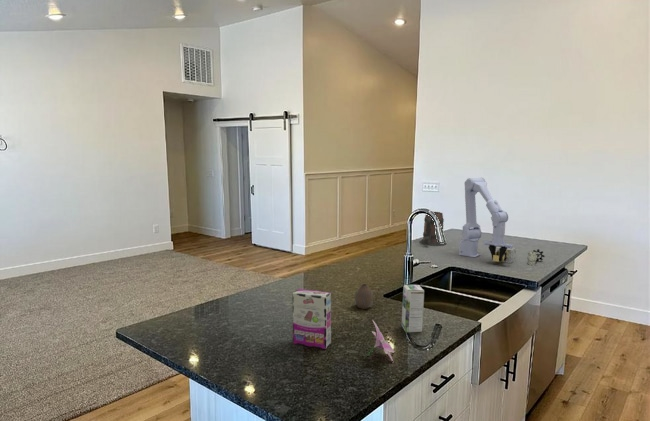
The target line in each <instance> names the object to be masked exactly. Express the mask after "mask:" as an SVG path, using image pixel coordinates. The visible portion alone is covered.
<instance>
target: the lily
mask: <svg viewBox="0 0 650 421" xmlns="http://www.w3.org/2000/svg"><path fill="white" fill-rule="evenodd" d="M372 322H373V324H374V326H375V330H376V332H375V331H374V330H373V331H371V333H372V334H373V335H374V336H375V344H374V346H373V347H372V348H371V349H370V351H369V352H368V354H367V355H366V357H367V356H368V357H369V355H370V354H371V352H372V351H373V350H374V349H375V348H379V349H381V350H383V351H384V353H385V354H387V355H388V357H389V358H390V359H391V362H392V361H393V358H392V355H391V353H393V354H394V352H395V350H394V349H393V347H392V345H391V344H390V343H389V342H388V341H389V339H387V338H384V335H383V333H382V332H381V331H380V328H379V327H378V325H377V323H376V322H375V321H374V320H372ZM393 362H394V361H393Z"/></svg>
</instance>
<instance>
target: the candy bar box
mask: <svg viewBox="0 0 650 421" xmlns="http://www.w3.org/2000/svg"><path fill="white" fill-rule="evenodd" d="M292 344H293V345H299V346H303V347H304V346H305V347H310V348H316V349H321V350H323V349H324V350H326V349H328V347H329V346H330V345H331V344H332V292H327V291H320V290H310V289H303V288H302V289H301V288H298V289H296V290H295V291H293V293H292Z"/></svg>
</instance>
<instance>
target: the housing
mask: <svg viewBox="0 0 650 421" xmlns="http://www.w3.org/2000/svg"><path fill="white" fill-rule="evenodd" d="M499 248H501V247H497V246H496V251H495V252H498V251H500V250H499ZM505 252H506V258H505V259H504V260H503V261H502V262H501V263H505V264H506V263H507V264H512V263H514V262H516V258H517V247H514V246H513V249H510V248H507V250H506V251H505Z"/></svg>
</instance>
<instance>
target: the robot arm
mask: <svg viewBox="0 0 650 421" xmlns="http://www.w3.org/2000/svg"><path fill="white" fill-rule="evenodd" d="M477 193H479V194H480V195H481V196H482V199H484V201H485V202H486V204H485V207H486V208H487V209H488V211H489V214H490V215H491V217H490V219H491V222H492V227H493V228H492V240H491V241H490V240H484V241H483V242H482V243H483V246H488V250H489V252H490V256H491V261H493V255H494V254H495V251H496V246H497V247H501V248H499V250H500V257H499V261H502V258H503V255H504V253H505V251H506V250H507V248H510V249H513V247H514V244H511V243H506V242H505V237H506V236H505V235H506V234H505V233H506V223H507V222H508V220H509V214H508V213H507V211H505V210H504V209H502V208H501V206H500V204H499V202H498V201H497V200H496V199H494V198H493V196H492V195H491V193H490V190H489V189H488V183H487V181H486V179H485V178H484V177H472V178H471V177H468V178H466V180H465V181H464V201H465V217H466V218H465V220H466V221H465V222H466V223H465V224H464V225H462V229H461V230H462V231H461V237H462V238H461V239H460V241H459V249H458V250H459V252H458V255H459V256H464V257H465V256H466V257H469V258H476V257H479V256H481V254H480V253H478V248H479V241H480V238H482V234H483V232H482V230H481V225H480V224H479V223H478V222H477V206H476V195H477Z"/></svg>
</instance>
